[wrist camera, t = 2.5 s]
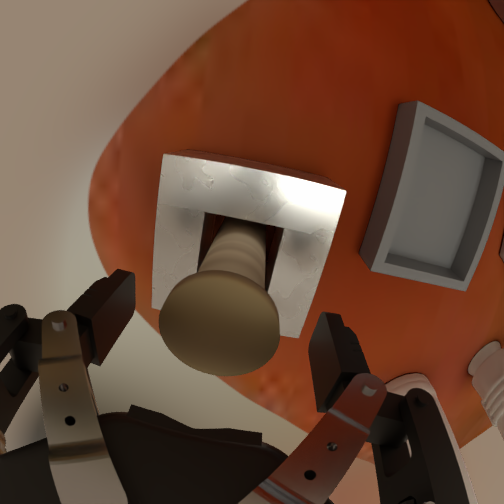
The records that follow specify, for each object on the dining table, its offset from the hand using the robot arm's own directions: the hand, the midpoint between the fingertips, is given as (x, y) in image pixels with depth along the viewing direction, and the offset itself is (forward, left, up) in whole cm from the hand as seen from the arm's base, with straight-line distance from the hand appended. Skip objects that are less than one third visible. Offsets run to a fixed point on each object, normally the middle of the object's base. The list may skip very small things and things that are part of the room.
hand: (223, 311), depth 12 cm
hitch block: (0, 0, -10) cm, 10 cm away
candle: (+10, +34, -10) cm, 37 cm away
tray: (-6, +14, -10) cm, 18 cm away
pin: (0, 0, -10) cm, 10 cm away
